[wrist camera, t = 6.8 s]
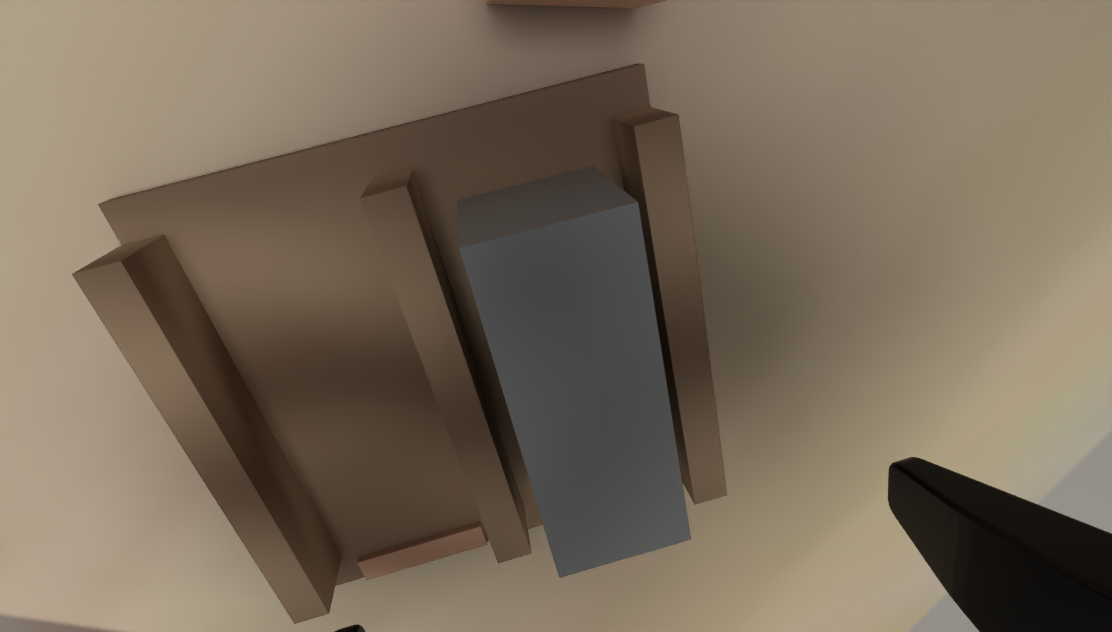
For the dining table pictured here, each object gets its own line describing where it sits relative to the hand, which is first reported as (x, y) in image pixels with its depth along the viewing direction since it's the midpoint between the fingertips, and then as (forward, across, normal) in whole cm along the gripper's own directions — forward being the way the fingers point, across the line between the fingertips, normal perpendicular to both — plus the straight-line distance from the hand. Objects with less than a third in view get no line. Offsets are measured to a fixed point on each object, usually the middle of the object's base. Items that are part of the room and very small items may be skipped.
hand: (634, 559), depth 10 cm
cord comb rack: (+8, +3, 0) cm, 9 cm away
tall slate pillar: (+8, 0, 0) cm, 8 cm away
